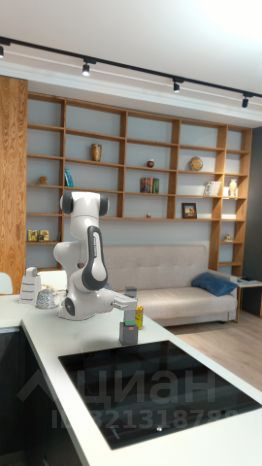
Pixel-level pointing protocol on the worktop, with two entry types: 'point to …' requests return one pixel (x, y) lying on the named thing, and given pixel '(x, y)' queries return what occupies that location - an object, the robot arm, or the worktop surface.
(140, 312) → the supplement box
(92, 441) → the worktop surface
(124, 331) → the base
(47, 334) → the worktop surface
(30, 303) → the grater
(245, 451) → the worktop surface
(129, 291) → the jack column
